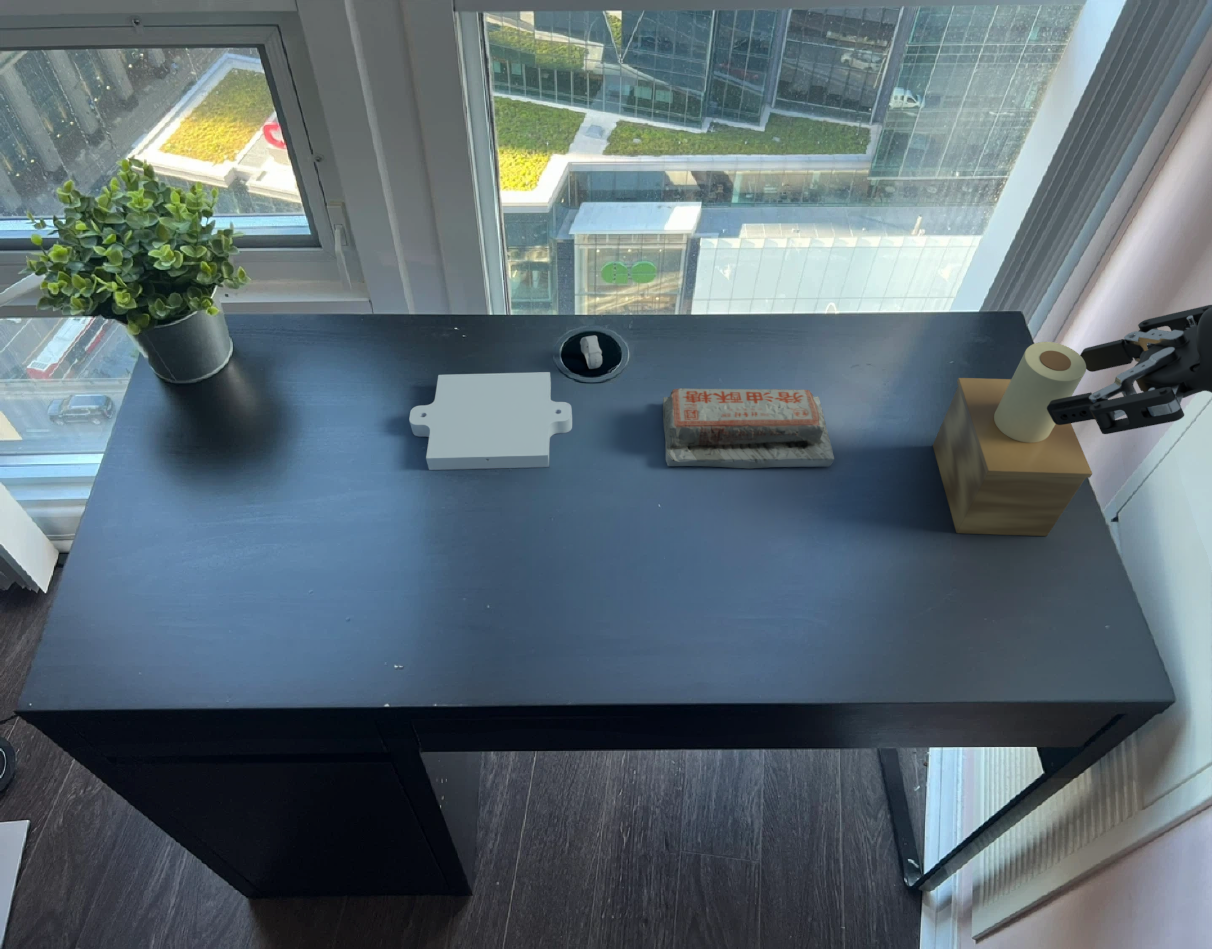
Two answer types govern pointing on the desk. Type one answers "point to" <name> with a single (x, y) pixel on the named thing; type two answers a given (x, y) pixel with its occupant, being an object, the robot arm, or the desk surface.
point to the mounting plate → (490, 421)
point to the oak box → (1003, 467)
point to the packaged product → (745, 428)
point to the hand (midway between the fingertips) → (1068, 386)
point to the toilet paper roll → (1038, 390)
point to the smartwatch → (591, 351)
